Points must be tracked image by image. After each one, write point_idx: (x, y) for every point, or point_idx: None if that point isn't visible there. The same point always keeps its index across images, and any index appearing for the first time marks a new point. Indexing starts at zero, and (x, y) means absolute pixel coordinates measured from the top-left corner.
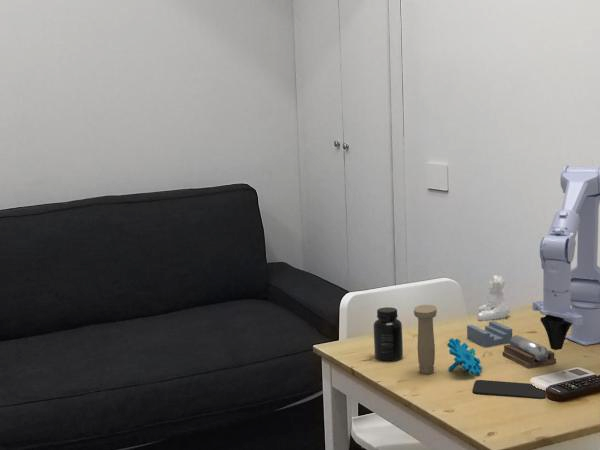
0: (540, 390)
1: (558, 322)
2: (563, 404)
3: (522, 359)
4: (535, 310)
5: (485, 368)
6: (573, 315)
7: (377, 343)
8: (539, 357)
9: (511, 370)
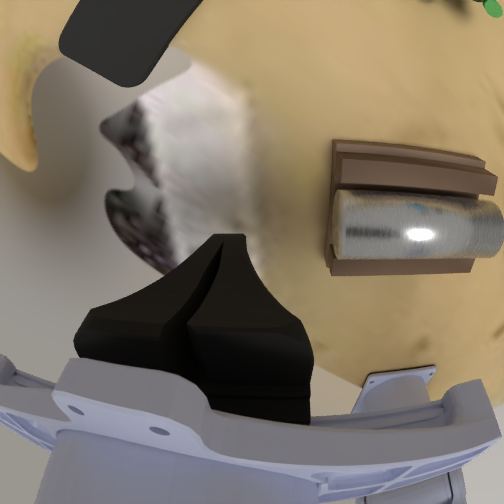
0: (99, 52)
1: (83, 356)
2: (21, 85)
3: (387, 155)
4: (453, 388)
5: (411, 11)
6: (8, 419)
7: None
8: (337, 206)
9: (348, 69)
